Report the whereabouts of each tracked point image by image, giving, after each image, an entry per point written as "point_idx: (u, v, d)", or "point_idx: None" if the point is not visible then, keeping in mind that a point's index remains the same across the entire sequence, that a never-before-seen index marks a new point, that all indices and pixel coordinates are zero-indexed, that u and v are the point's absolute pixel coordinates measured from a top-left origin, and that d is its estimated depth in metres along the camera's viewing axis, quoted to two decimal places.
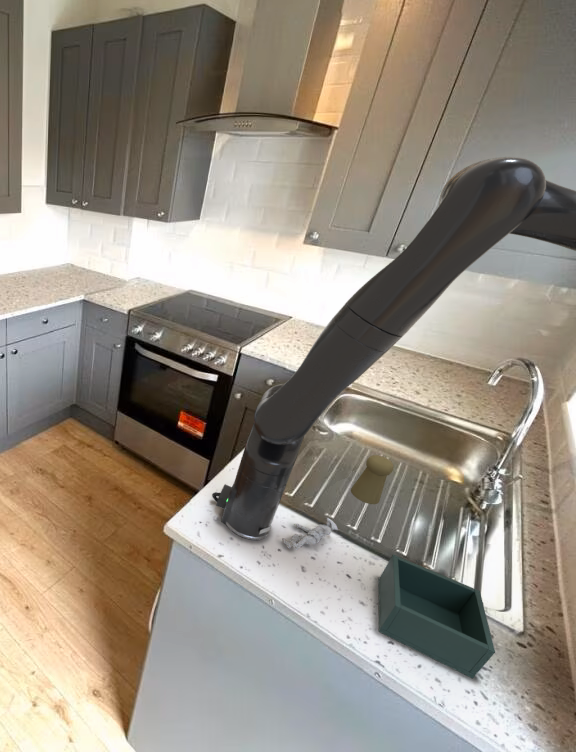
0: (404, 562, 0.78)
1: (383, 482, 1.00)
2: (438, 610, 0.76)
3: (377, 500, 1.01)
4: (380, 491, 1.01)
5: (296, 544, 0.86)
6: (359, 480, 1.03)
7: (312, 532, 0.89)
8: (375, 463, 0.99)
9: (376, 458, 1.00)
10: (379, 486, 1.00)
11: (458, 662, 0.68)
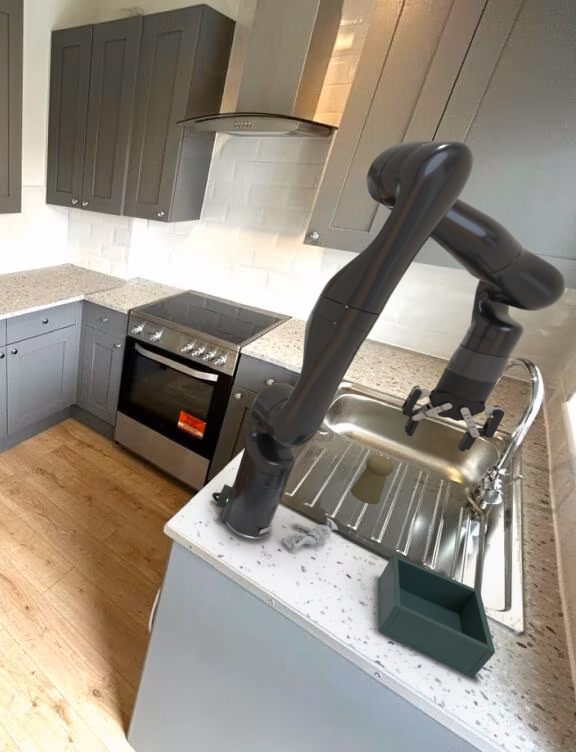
0: (404, 562, 0.78)
1: (383, 482, 1.00)
2: (438, 610, 0.76)
3: (377, 500, 1.01)
4: (380, 491, 1.01)
5: (296, 544, 0.86)
6: (359, 480, 1.03)
7: (312, 532, 0.89)
8: (375, 463, 0.99)
9: (376, 458, 1.00)
10: (379, 486, 1.00)
11: (458, 662, 0.68)
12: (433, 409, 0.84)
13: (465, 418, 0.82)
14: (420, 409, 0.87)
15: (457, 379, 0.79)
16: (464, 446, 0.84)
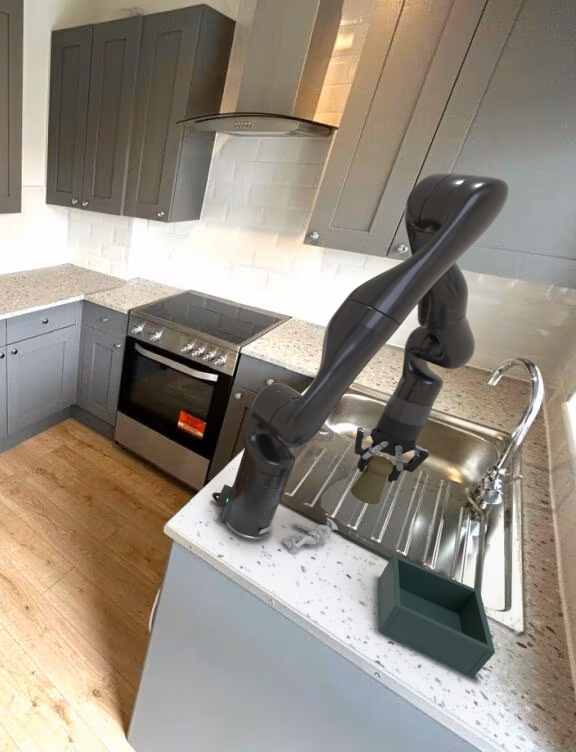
0: (404, 562, 0.78)
1: (383, 482, 1.00)
2: (438, 610, 0.76)
3: (377, 500, 1.01)
4: (380, 491, 1.01)
5: (296, 544, 0.86)
6: (359, 480, 1.03)
7: (312, 532, 0.89)
8: (375, 463, 0.99)
9: (377, 458, 1.00)
10: (379, 486, 1.00)
11: (458, 662, 0.68)
12: (375, 447, 0.98)
13: (396, 454, 0.96)
14: (368, 448, 1.01)
15: (391, 422, 0.93)
16: (391, 478, 0.99)
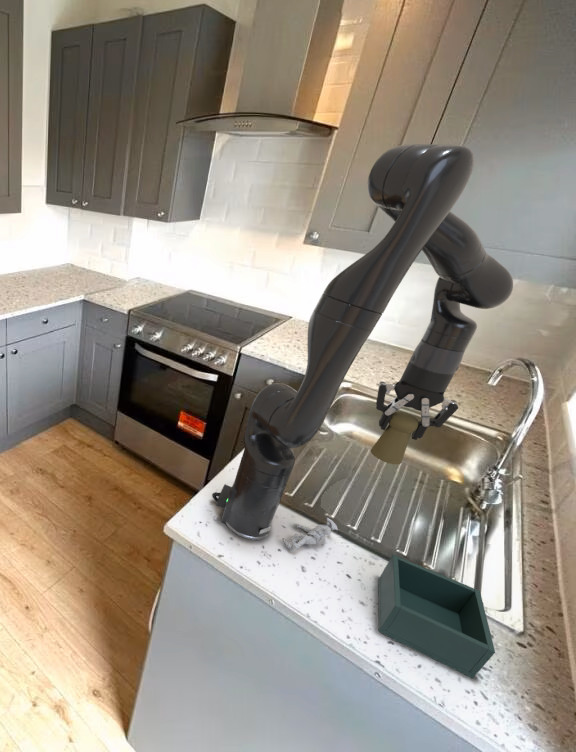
0: (404, 562, 0.78)
1: (407, 440, 0.93)
2: (438, 610, 0.76)
3: (400, 460, 0.95)
4: (403, 450, 0.94)
5: (296, 544, 0.86)
6: (380, 439, 0.96)
7: (312, 532, 0.89)
8: (399, 419, 0.92)
9: (400, 414, 0.93)
10: (403, 445, 0.93)
11: (458, 662, 0.68)
12: (399, 402, 0.91)
13: (423, 408, 0.89)
14: (391, 404, 0.94)
15: (418, 372, 0.87)
16: (416, 435, 0.92)
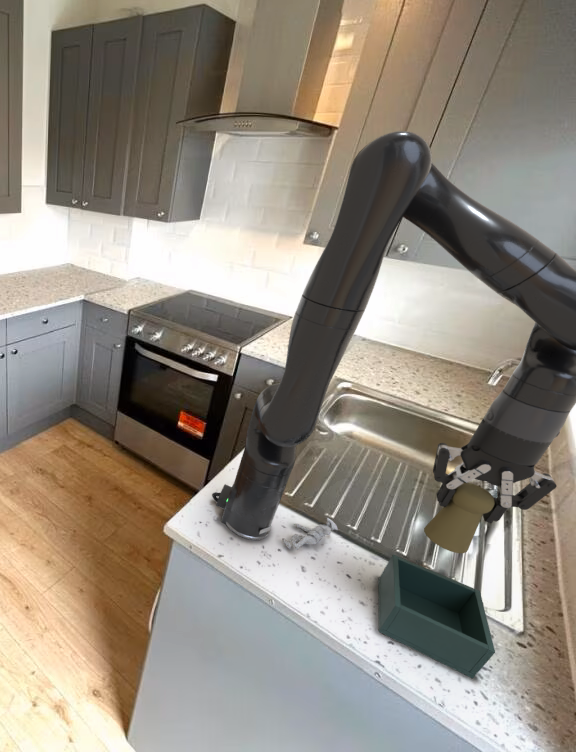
0: (404, 562, 0.78)
1: (478, 522, 0.69)
2: (438, 610, 0.76)
3: (466, 548, 0.70)
4: (472, 535, 0.70)
5: (296, 544, 0.86)
6: (439, 518, 0.72)
7: (312, 532, 0.89)
8: (467, 496, 0.68)
9: (468, 488, 0.68)
10: (472, 529, 0.69)
11: (458, 662, 0.68)
12: (469, 473, 0.67)
13: (503, 483, 0.65)
14: (454, 473, 0.70)
15: (500, 437, 0.62)
16: (491, 517, 0.68)
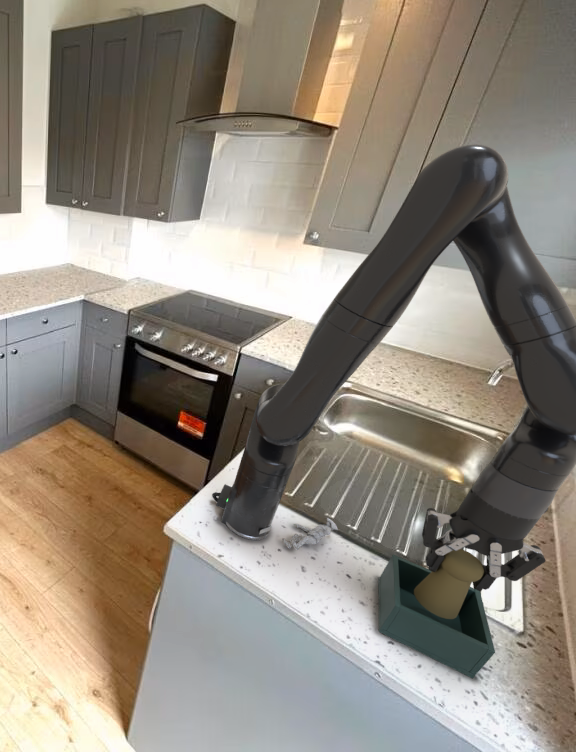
0: (404, 562, 0.78)
1: (467, 589, 0.68)
2: None
3: (456, 614, 0.70)
4: (462, 601, 0.69)
5: (296, 544, 0.86)
6: (428, 582, 0.71)
7: (312, 532, 0.89)
8: (456, 564, 0.67)
9: (457, 555, 0.68)
10: (461, 596, 0.68)
11: (458, 662, 0.68)
12: (457, 542, 0.66)
13: (492, 554, 0.64)
14: (443, 538, 0.69)
15: (487, 510, 0.61)
16: (480, 585, 0.67)
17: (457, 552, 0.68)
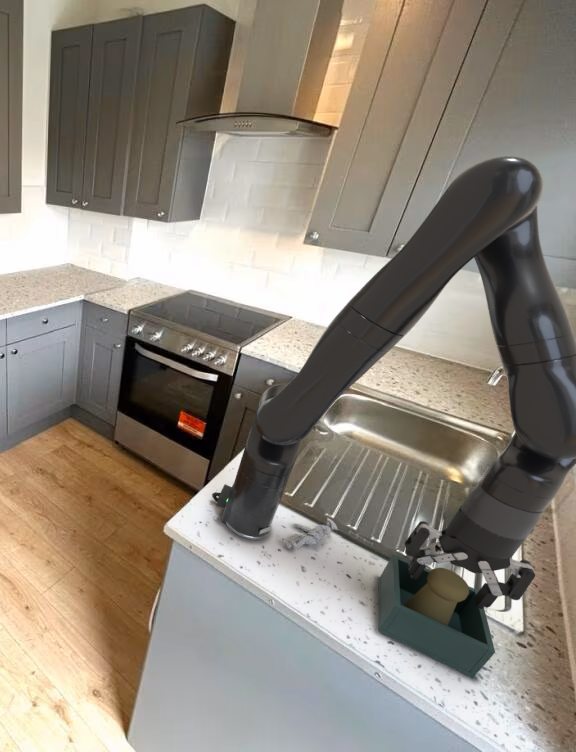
0: (404, 562, 0.78)
1: (453, 609, 0.70)
2: None
3: None
4: (448, 620, 0.71)
5: (296, 544, 0.86)
6: (416, 600, 0.73)
7: (312, 532, 0.89)
8: (442, 584, 0.69)
9: (444, 576, 0.70)
10: (447, 615, 0.70)
11: (458, 662, 0.68)
12: (443, 556, 0.68)
13: (484, 573, 0.65)
14: (428, 549, 0.71)
15: (475, 529, 0.63)
16: (482, 604, 0.67)
17: (443, 572, 0.70)
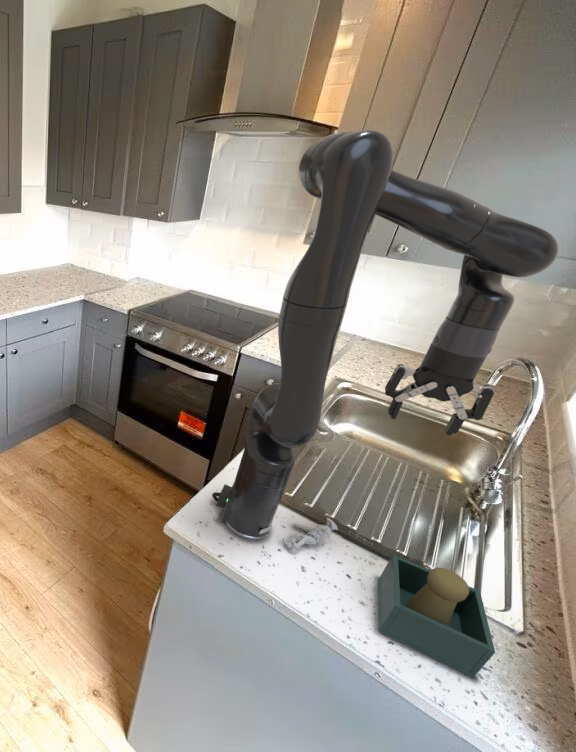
0: (404, 562, 0.78)
1: (453, 609, 0.70)
2: None
3: None
4: (448, 620, 0.71)
5: (296, 544, 0.86)
6: (416, 600, 0.73)
7: (312, 532, 0.89)
8: (442, 584, 0.69)
9: (444, 575, 0.70)
10: (447, 615, 0.70)
11: (458, 662, 0.68)
12: (417, 389, 0.78)
13: (451, 398, 0.76)
14: (404, 389, 0.81)
15: (442, 355, 0.73)
16: (450, 429, 0.78)
17: (443, 572, 0.70)
